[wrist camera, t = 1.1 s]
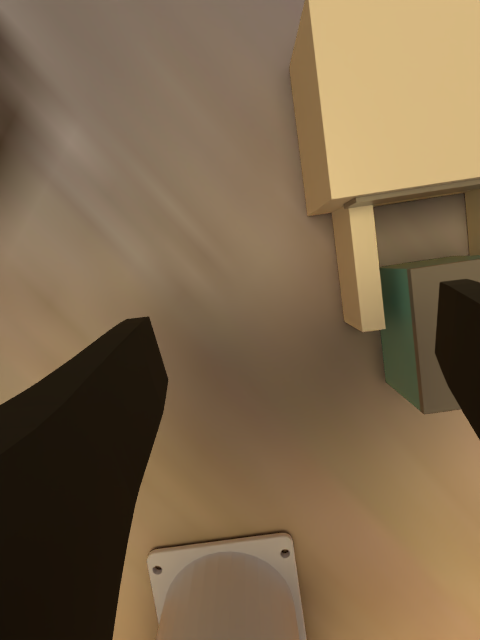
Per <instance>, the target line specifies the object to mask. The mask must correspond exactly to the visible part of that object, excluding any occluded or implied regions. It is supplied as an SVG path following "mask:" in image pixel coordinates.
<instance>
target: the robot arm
mask: <svg viewBox="0 0 480 640" xmlns="http://www.w3.org/2000/svg"><path fill="white" fill-rule="evenodd" d="M435 355H436V358H437V360H438V363H439V366H440V368H441V371H442V373H443V375H444V378H445V380H446V383H447V385H448V387H449V389H450V391H451V392H452V394H453V396H454V397H455V399H456V401H457V403H458V404H459V406H460V408H461V409H462V411H463V413H464V414H465V416H466V418H467V419H468V421H469V423H470V424H471V426H472V428H473V429H474V431H475V433H476V434H477V436H478V438H479V439H480V282H477V281H474V280H470V279H460V280H451V281H443V282H440V284H439V298H438V312H437V326H436V340H435ZM167 385H168V377H167V374H166V370H165V367H164V364H163V361H162V357H161V354H160V351H159V347H158V344H157V341H156V338H155V334H154V331H153V328H152V325H151V321H150V318H149V317H141V318H133V319H126V320H124V321H123V322H121V323H119V324H118V325H116V326H115V327H113V328H112V329H111V330H109V331H108V332H106V333H105V334H104V335H102V336H101V337H100V338H98V339H97V340H96V341H95V342H93V343H92V344H91V345H89V346H88V347H87V348H85V349H84V350H83V351H81V352H80V353H79V354H77V355H76V356H75V357H73V358H72V359H71V360H69V361H68V362H66V363H65V364H63V365H62V366H61V367H59V368H58V369H56V370H55V371H53V372H52V373H51V374H49V375H48V376H46V377H45V378H43V379H42V380H41V381H39V382H38V383H36V384H35V385H33V386H31V387H30V388H28V389H27V390H25V391H23V392H22V393H20V394H19V395H17V396H15V397H13V398H12V399H10V400H8V401H7V402H5V403H3V404H1V405H0V640H112V638H113V631H114V624H115V617H116V610H117V604H118V597H119V590H120V584H121V578H122V572H123V566H124V560H125V555H126V549H127V543H128V538H129V533H130V528H131V523H132V518H133V513H134V508H135V503H136V500H137V496H138V492H139V488H140V485H141V482H142V479H143V475H144V472H145V469H146V466H147V463H148V460H149V457H150V453H151V450H152V447H153V444H154V441H155V438H156V434H157V431H158V428H159V425H160V421H161V418H162V415H163V410H164V405H165V399H166V392H167ZM284 549H287V550H289V551H288V552H287V553H282V552H281V551H282V550H284ZM147 566H148V571H149V576H150V581H151V587H152V592H153V597H154V602H155V608H156V613H157V618H158V623H159V627H158V631H157V636H156V640H307V638H306V631H305V624H304V617H303V609H302V602H301V595H300V588H299V581H298V574H297V567H296V560H295V553H294V546H293V540H292V537H291V536H290V535H289V534H287V533H276V534H268V535H261V536H253V537H245V538H238V539H230V540H223V541H215V542H207V543H200V544H192V545H184V546H177V547H169V548H161V549H155V550H152V551H151V552H150V553H149V555H148V558H147ZM155 566H160V567H161V568H162V569H160V570H158V569H156V568H155Z"/></svg>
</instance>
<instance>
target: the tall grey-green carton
mask: <svg viewBox="0 0 480 640" xmlns="http://www.w3.org/2000/svg"><path fill="white" fill-rule="evenodd" d="M379 270H380V280H381V289H382V299H383V309H384V318H385V328H386V329H382V330H380V332H381V342H382V351H383V361H384V370H385V380H386V382H387V383H388V384H389V385H390V386H391V387H393V388H394V389H395V390H396V391H397V392H398V393H400V394H401V395H402V396H403V397H404V398H406V399H407V400H408V401H409V402H410V403H411V404H413V405H414V406H415V407H416V408H417V409H419V410H420V411H421V412H422V413H423V414H431V413H438V412H446V411H453V410H460V409H461V408H460V406H459V404H458V403H457V401H456V399H455V397H454V396H453V394H452V392H451V391H450V389H449V387H448V385H447V383H446V380H445V378H444V375H443V373H442V371H441V368H440V366H439V363H438V360H437V358H436V355H435V340H436V326H437V312H438V298H439V284H440V282H443V281H451V280H460V279H470V280H474V281H477V282H480V255H473V256H450V257H443V258H436V259H429V260H423V261H416V262H409V263H402V264H395V265H389V266H382V267H379Z"/></svg>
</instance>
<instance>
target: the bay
mask: <svg viewBox="0 0 480 640" xmlns="http://www.w3.org/2000/svg"><path fill="white" fill-rule="evenodd" d="M289 71H290V79H291V88H292V96H293V104H294V112H295V120H296V128H297V136H298V144H299V152H300V160H301V168H302V176H303V184H304V193H305V201H306V209H307V216H314V215H321V214H327V213H332V222H333V230H334V239H335V248H336V256H337V265H338V273H339V282H340V290H341V299H342V308H343V316H344V322H346V323H348V324H349V325H351V326H353V327H355V328H356V329H358V330H360V331H361V332H368V331H375V330H382V329H386V328H385V318H384V309H383V299H382V289H381V280H380V270H379V261H378V251H377V241H376V232H375V222H374V213H373V207H374V206H380V205H387V204H394V203H400V202H407V201H414V200H420V199H427V198H433V197H440V196H447V195H453V194H460V193H465V204H466V217H467V230H468V243H469V256H473V255H480V0H305V2H304V7H303V11H302V15H301V19H300V24H299V28H298V32H297V36H296V41H295V45H294V49H293V53H292V58H291V62H290V66H289Z"/></svg>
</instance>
